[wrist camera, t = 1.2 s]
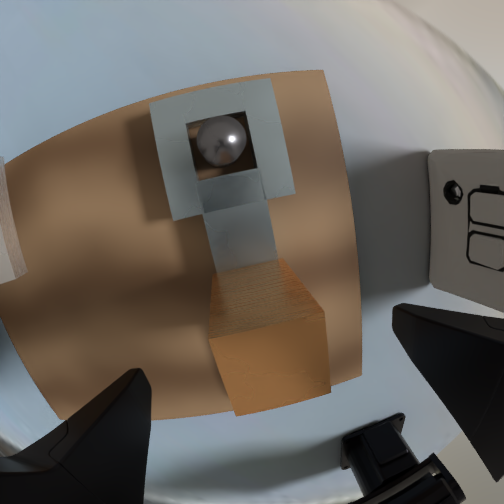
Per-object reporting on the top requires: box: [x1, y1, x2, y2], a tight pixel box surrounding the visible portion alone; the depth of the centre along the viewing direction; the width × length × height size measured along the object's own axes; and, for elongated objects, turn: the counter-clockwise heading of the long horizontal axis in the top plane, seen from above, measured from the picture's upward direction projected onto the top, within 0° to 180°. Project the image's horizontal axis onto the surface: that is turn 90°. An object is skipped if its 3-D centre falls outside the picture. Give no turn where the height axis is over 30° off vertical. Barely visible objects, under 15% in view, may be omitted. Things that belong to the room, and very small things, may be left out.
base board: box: [0, 70, 362, 420], centre depth 14 cm, size 19×24×1 cm
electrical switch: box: [427, 149, 504, 313], centre depth 12 cm, size 9×5×9 cm, turn 7°
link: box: [149, 78, 331, 416], centre depth 11 cm, size 17×5×7 cm, turn 11°
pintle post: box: [197, 116, 246, 168], centre depth 11 cm, size 2×2×3 cm
